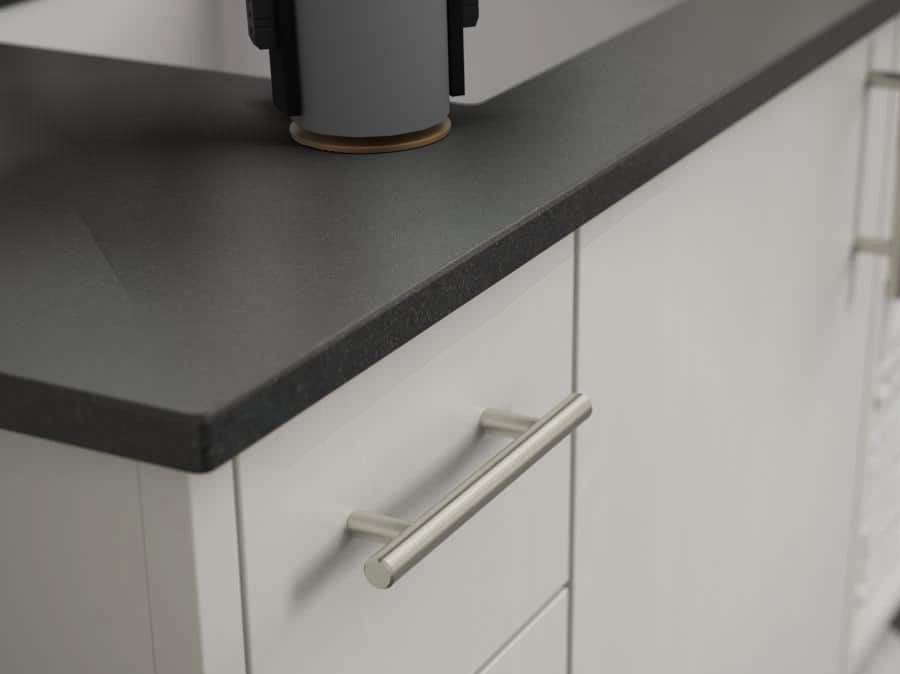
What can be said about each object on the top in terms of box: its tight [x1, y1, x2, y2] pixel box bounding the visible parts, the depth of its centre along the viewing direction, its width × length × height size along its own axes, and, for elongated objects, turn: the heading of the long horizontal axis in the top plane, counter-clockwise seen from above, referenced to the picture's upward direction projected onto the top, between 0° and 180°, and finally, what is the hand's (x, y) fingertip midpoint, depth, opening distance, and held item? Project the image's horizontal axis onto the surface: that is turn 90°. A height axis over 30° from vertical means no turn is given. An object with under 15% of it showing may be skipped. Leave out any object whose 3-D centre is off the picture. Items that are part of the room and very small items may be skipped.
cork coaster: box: [288, 116, 452, 154], centre depth 87 cm, size 9×9×1 cm
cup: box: [290, 0, 451, 137], centre depth 85 cm, size 8×8×10 cm
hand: (369, 99), depth 87 cm, fingers closed on cup, 8 cm apart
